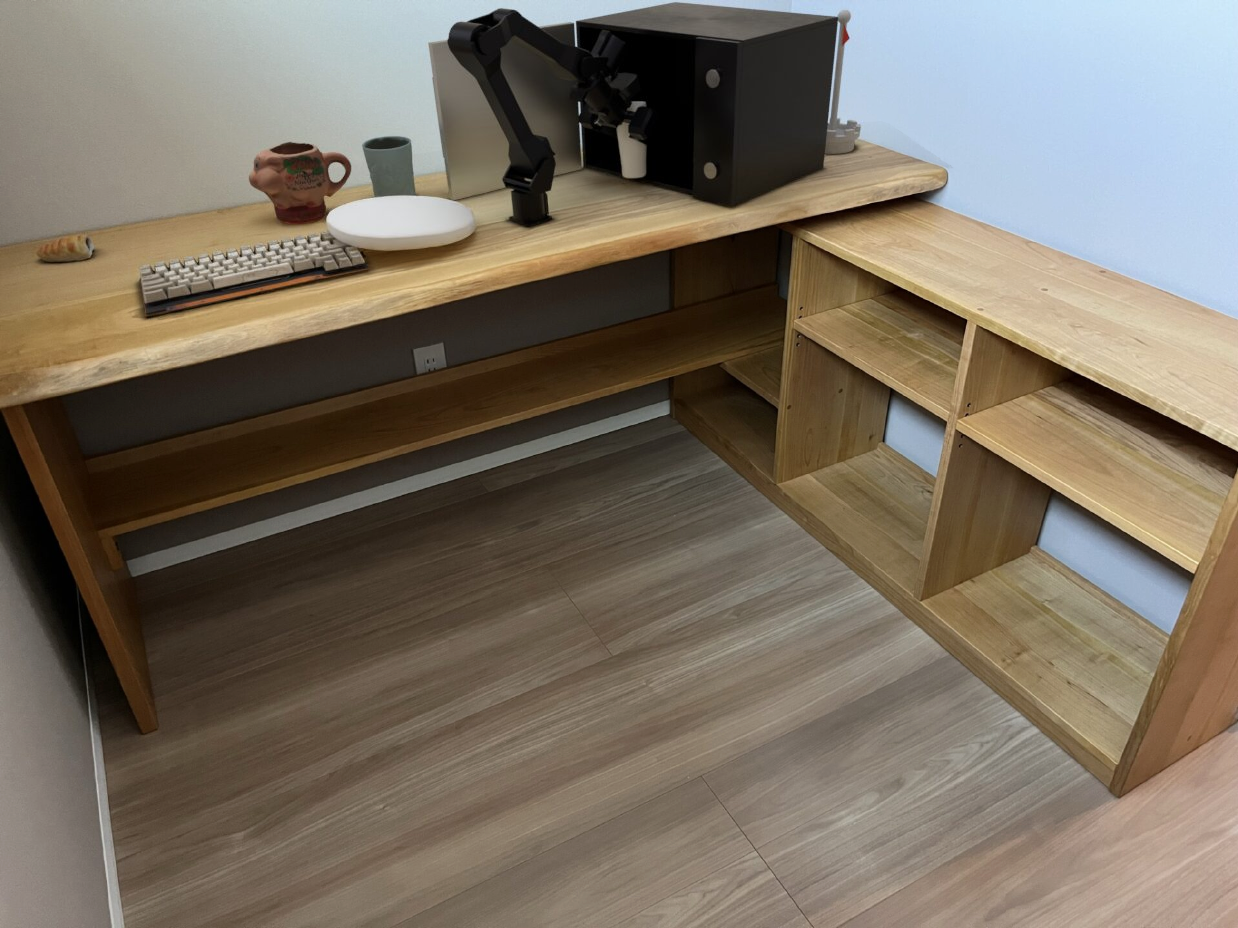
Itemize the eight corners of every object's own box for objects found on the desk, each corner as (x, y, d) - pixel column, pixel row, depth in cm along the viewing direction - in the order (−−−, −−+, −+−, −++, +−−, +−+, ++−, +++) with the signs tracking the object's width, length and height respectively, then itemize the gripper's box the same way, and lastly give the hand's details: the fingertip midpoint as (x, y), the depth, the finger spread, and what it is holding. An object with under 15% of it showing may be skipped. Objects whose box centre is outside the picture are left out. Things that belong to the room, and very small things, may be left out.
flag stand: (796, 142, 220) (807, 7, 204) (848, 139, 221) (863, 4, 205) (811, 156, 210) (824, 15, 193) (865, 153, 211) (883, 12, 194)
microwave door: (437, 193, 195) (415, 39, 177) (564, 163, 211) (556, 19, 194) (453, 200, 190) (431, 43, 173) (581, 169, 206) (574, 23, 189)
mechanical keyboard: (146, 318, 145) (139, 299, 143) (138, 280, 159) (132, 261, 157) (375, 271, 159) (371, 253, 157) (349, 240, 173) (345, 223, 171)
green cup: (404, 189, 198) (395, 133, 191) (429, 199, 192) (420, 141, 185) (363, 200, 193) (352, 143, 186) (387, 210, 186) (377, 151, 180)
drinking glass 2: (622, 174, 199) (618, 102, 192) (652, 173, 197) (649, 100, 190) (616, 180, 193) (611, 105, 186) (646, 179, 191) (643, 104, 185)
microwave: (728, 209, 181) (735, 42, 163) (575, 170, 206) (567, 22, 189) (823, 168, 202) (838, 17, 184) (674, 138, 227) (675, 2, 210)
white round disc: (419, 183, 184) (505, 212, 170) (419, 215, 188) (504, 246, 173) (296, 196, 165) (381, 230, 151) (298, 231, 168) (382, 267, 154)
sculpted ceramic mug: (351, 199, 193) (338, 133, 185) (365, 215, 184) (352, 146, 176) (256, 216, 186) (238, 147, 178) (265, 233, 177) (247, 162, 169)
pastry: (36, 266, 165) (28, 247, 163) (44, 254, 171) (36, 235, 169) (92, 259, 168) (84, 239, 166) (97, 247, 173) (90, 228, 171)
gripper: (653, 66, 175) (687, 114, 188) (585, 56, 186) (622, 102, 198) (626, 116, 175) (663, 161, 187) (560, 103, 185) (599, 146, 198)
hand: (637, 141), depth 193 cm, fingers closed on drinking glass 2, 6 cm apart
